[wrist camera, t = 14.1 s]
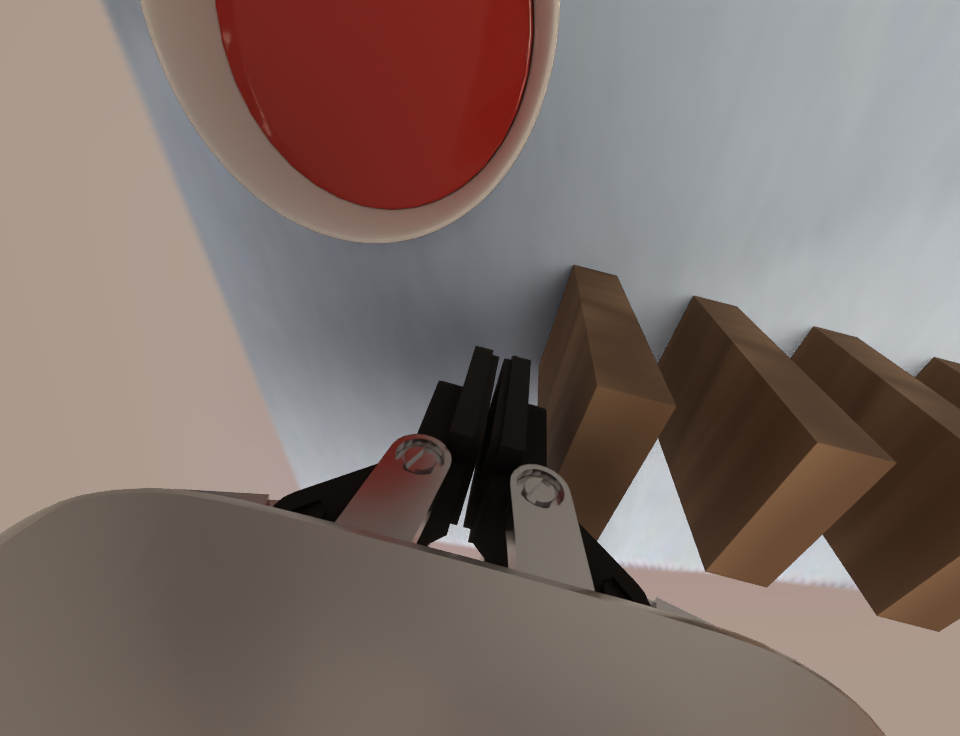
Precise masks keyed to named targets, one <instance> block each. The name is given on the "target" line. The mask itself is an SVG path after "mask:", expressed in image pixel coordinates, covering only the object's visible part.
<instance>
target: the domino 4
mask: <svg viewBox="0 0 960 736" xmlns="http://www.w3.org/2000/svg"><path fill="white" fill-rule="evenodd" d="M915 378H916V379H917V380H919V381H920V382H922V383H923V384H924V385H926V386H927V387H929V388H930V389H932V390H933V391H935V392H936V393H937V394H939V395H940V396H942V397H943V398H945V399H946V400H947V401H949V402H950V403H952V404H953V405H955V406H956V407H957V408H959V409H960V364H959V363H955V362H951V361H947V360H943V359H939V358H935V357H934V358H933V359H932V360H931V361H930V362H929V363H928V365H927V366H926V367H925V368H924V369H923V370H922V371H921V372H920V373H919V374H918V375H917V376H916V377H915Z"/></svg>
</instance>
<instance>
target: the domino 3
mask: <svg viewBox="0 0 960 736" xmlns="http://www.w3.org/2000/svg"><path fill="white" fill-rule="evenodd" d="M791 360H792V361H793V362H794V363H795V364H796V365H797V366H798V367H799V368H800V369H801V370H802V371H803V372H804V373H805V374H806V375H807V376H808V377H809V378H811V379H812V380H813V381H814V382H815V383H816V384H817V385H818V386H819V387H820V388H821V389H822V390H823V391H824V392H825V393H826V394H827V395H828V396H829V397H830V398H831V399H832V400H833V401H834V402H835V403H836V404H837V405H838V406H839V407H840V408H841V409H842V410H843V411H844V412H845V413H846V414H847V415H848V416H849V417H850V418H851V419H852V420H853V421H855V422H856V423H857V424H858V425H859V426H860V427H861V428H862V429H863V430H864V431H865V432H866V433H867V434H868V435H869V436H870V437H871V438H872V439H873V440H874V441H875V442H876V443H877V444H878V445H879V446H880V447H881V448H882V449H883V450H884V451H885V452H886V453H887V454H888V455H889V456H890V457H891V458H892V459H893V460H894V461H895V462H896V464H895V465H894V466H893V467H892V468H891V469H890V470H889V471H888V472H887V473H886V474H885V475H884V476H883V477H882V478H881V479H880V480H879V481H878V482H877V483H876V484H874V485H873V486H872V487H871V488H870V489H869V490H868V491H867V492H866V493H865V494H864V495H863V496H862V497H861V498H860V499H859V500H858V501H857V502H856V503H855V504H854V505H853V506H852V507H850V508H849V509H848V510H847V511H846V512H845V513H844V514H843V515H842V516H841V517H840V518H839V519H838V520H837V521H836V522H835V523H834V524H833V525H832V526H831V527H830V528H829V529H828V530H826V531H825V532H824V533H823V536H824V537H825V539H826V540H827V542H828V543H829V545H830V546H831V548H832V549H833V551H834V552H835V554H836V555H837V557H838V558H839V560H840V561H841V563H842V564H843V566H844V567H845V569H846V570H847V572H848V573H849V575H850V576H851V578H852V579H853V581H854V582H855V584H856V585H857V587H858V588H859V590H860V591H861V593H862V594H863V596H864V597H865V599H866V600H867V602H868V603H869V605H870V606H871V608H872V609H873V611H874V612H875V614H876V615H877V616H880V617H883V618H888V619H891V620H895V621H899V622H903V623H907V624H911V625H915V626H918V627H922V628H926V629H930V630H934V631H938V632H939V631H941V630H942V629H944V628H945V627H947V626H949V625H950V624H952V623H953V622H955V621H957V620H958V619H960V409H959V408H957V407H956V406H955V405H953V404H952V403H950V402H949V401H947V400H946V399H945V398H943V397H942V396H940V395H939V394H937V393H936V392H935V391H933V390H932V389H930V388H929V387H927V386H926V385H924V384H923V383H922V382H920V381H919V380H917V379H916V378H914V377H913V376H912V375H910V374H909V373H907V372H906V371H904V370H903V369H902V368H900V367H899V366H897V365H896V364H894V363H893V362H892V361H890V360H889V359H887V358H886V357H884V356H883V355H882V354H880V353H879V352H877V351H876V350H874V349H873V348H872V347H870V346H869V345H867V344H866V343H864V342H863V341H862V340H860V339H859V338H857V337H853V336H850V335H846V334H842V333H838V332H834V331H830V330H826V329H822V328H818V327H813V328H812V330H811V331H810V333H809V334H808V335H807V337H806V338H805V339H804V341H803V342H802V344H801V345H800V346H799V348H798V349H797V351H796V352H795V353H794V355H793V356H792V358H791Z"/></svg>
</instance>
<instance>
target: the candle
mask: <svg viewBox="0 0 960 736" xmlns="http://www.w3.org/2000/svg"><path fill="white" fill-rule="evenodd" d="M140 2H141V6H142V10H143V14H144V18H145V21H146V24H147V28H148V31H149V34H150V37H151V40H152V43H153V46H154V48H155V51H156V54H157V56H158V59H159V61H160V64H161V66H162V68H163V71H164V73H165V75H166V77H167V80H168V82H169V84H170V86H171V88H172V90H173V92H174V94H175V96H176V98H177V99H178V101H179V103H180V105H181V107H182V108H183V110H184V112H185V114H186V115H187V117H188V118H189V120H190V122H191V123H192V125H193V126H194V128H195V129H196V131H197V132H198V134H199V135H200V137H201V138H202V139H203V141H204V142H205V144H206V145H207V146H208V147H209V149H210V150H211V151H212V153H213V154H214V155H215V156H216V157H217V159H218V160H219V161H220V162H221V163H222V164H223V166H224V167H225V168H226V169H227V170H228V171H229V172H230V173H231V174H232V175H233V176H234V177H235V178H236V179H237V180H238V181H239V182H240V183H241V184H242V185H243V186H244V187H245V188H246V189H248V190H249V191H250V192H251V193H252V194H253V195H255V196H256V197H257V198H258V199H260V200H261V201H262V202H264V203H265V204H266V205H268V206H269V207H270V208H272V209H273V210H275V211H276V212H278V213H280V214H281V215H283V216H284V217H286V218H288V219H290V220H291V221H293V222H295V223H297V224H299V225H301V226H303V227H306V228H308V229H310V230H313V231H315V232H318V233H321V234H323V235H327V236H330V237H333V238H337V239H342V240H346V241H352V242H360V243H392V242H399V241H405V240H410V239H414V238H418V237H421V236H424V235H427V234H430V233H432V232H435V231H437V230H439V229H441V228H443V227H445V226H447V225H449V224H451V223H453V222H454V221H456V220H458V219H459V218H461V217H462V216H464V215H465V214H466V213H468V212H469V211H470V210H472V209H473V208H474V207H475V206H477V205H478V204H479V203H480V202H481V201H482V200H483V199H484V198H485V197H486V196H487V195H488V194H489V193H490V192H491V191H492V190H493V189H494V188H495V187H496V186H497V185H498V184H499V182H500V181H501V180H502V179H503V177H504V176H505V175H506V173H507V172H508V171H509V169H510V168H511V167H512V165H513V164H514V162H515V161H516V159H517V157H518V156H519V154H520V152H521V151H522V149H523V147H524V145H525V143H526V142H527V140H528V138H529V135H530V133H531V131H532V129H533V127H534V125H535V122H536V120H537V117H538V115H539V112H540V110H541V107H542V104H543V101H544V98H545V95H546V91H547V88H548V84H549V80H550V76H551V72H552V67H553V62H554V57H555V51H556V45H557V37H558V28H559V16H560V0H140Z"/></svg>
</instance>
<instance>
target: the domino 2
mask: <svg viewBox="0 0 960 736" xmlns="http://www.w3.org/2000/svg"><path fill="white" fill-rule="evenodd" d="M658 367H659V369H660V371H661V373H662V376H663V378H664V380H665V382H666V384H667V387H668V389H669V391H670V393H671V395H672V398H673V400H674V402H675V404H676V408H675V410H674V411H673V413H672V415H671V416H670V418H669V420H668V422H667V423H666V425H665V427H664V428H663V430H662V432H661V433H660V435H659V437H658V439H659V442H660V445H661V447H662V450H663V453H664V456H665V459H666V462H667V464H668V467H669V470H670V473H671V476H672V479H673V481H674V484H675V487H676V490H677V493H678V496H679V498H680V501H681V504H682V507H683V510H684V513H685V515H686V518H687V521H688V524H689V527H690V529H691V532H692V535H693V538H694V541H695V544H696V546H697V549H698V552H699V555H700V558H701V561H702V563H703V566H704V569H705V572H709V573H713V574H717V575H721V576H725V577H729V578H733V579H736V580H740V581H744V582H748V583H752V584H756V585H759V586H763V587H768V586H769V585H770V584H771V583H772V582H773V581H774V580H775V579H776V578H777V577H778V576H780V575H781V574H782V573H783V572H784V571H785V570H786V569H787V568H788V567H789V566H790V565H791V564H792V563H793V562H794V561H795V560H796V559H797V558H798V557H799V556H800V555H801V554H802V553H804V552H805V551H806V550H807V549H808V548H809V547H810V546H811V545H812V544H813V543H814V542H815V541H816V540H817V539H818V538H819V537H820V536H821V535H822V534H823V533H824V532H825V531H826V530H828V529H829V528H830V527H831V526H832V525H833V524H834V523H835V522H836V521H837V520H838V519H839V518H840V517H841V516H842V515H843V514H844V513H845V512H846V511H847V510H848V509H849V508H850V507H852V506H853V505H854V504H855V503H856V502H857V501H858V500H859V499H860V498H861V497H862V496H863V495H864V494H865V493H866V492H867V491H868V490H869V489H870V488H871V487H872V486H873V485H874V484H876V483H877V482H878V481H879V480H880V479H881V478H882V477H883V476H884V475H885V474H886V473H887V472H888V471H889V470H890V469H891V468H892V467H893V466H894V465H895V464H896V462H895V461H894V460H893V459H892V458H891V457H890V456H889V455H888V454H887V453H886V452H885V451H884V450H883V449H882V448H881V447H880V446H879V445H878V444H877V443H876V442H875V441H874V440H873V439H872V438H871V437H870V436H869V435H868V434H867V433H866V432H865V431H864V430H863V429H862V428H861V427H860V426H859V425H858V424H857V423H856V422H855V421H853V420H852V419H851V418H850V417H849V416H848V415H847V414H846V413H845V412H844V411H843V410H842V409H841V408H840V407H839V406H838V405H837V404H836V403H835V402H834V401H833V400H832V399H831V398H830V397H829V396H828V395H827V394H826V393H825V392H824V391H823V390H822V389H821V388H820V387H819V386H818V385H817V384H816V383H815V382H814V381H813V380H812V379H811V378H809V377H808V376H807V375H806V374H805V373H804V372H803V371H802V370H801V369H800V368H799V367H798V366H797V365H796V364H795V363H794V362H793V361H792V360H791V359H790V358H789V357H788V356H787V355H786V354H785V353H784V352H783V351H782V350H781V349H780V348H779V347H778V346H777V345H776V344H775V343H774V342H773V341H772V340H771V339H770V338H769V337H768V336H767V335H766V334H764V333H763V332H762V331H761V330H760V329H759V328H758V327H757V326H756V325H755V324H754V323H753V322H752V321H751V320H750V319H749V318H748V317H747V316H746V315H745V314H744V313H743V312H742V311H741V310H740V309H739V308H738V307H736V306H732V305H729V304H725V303H721V302H717V301H713V300H709V299H705V298H701V297H697V296H693V298H692V300H691V302H690V304H689V306H688V308H687V310H686V311H685V313H684V315H683V317H682V319H681V321H680V323H679V325H678V327H677V329H676V331H675V332H674V334H673V336H672V338H671V340H670V342H669V344H668V346H667V348H666V350H665V352H664V353H663V355H662V357H661V359H660V361H659V363H658Z"/></svg>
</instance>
